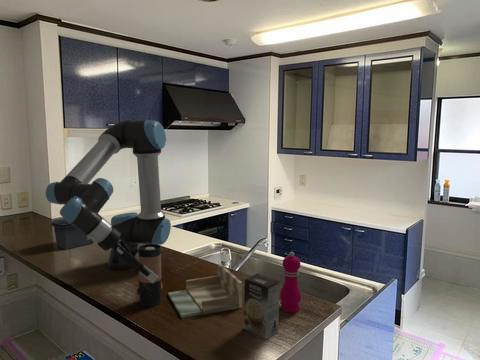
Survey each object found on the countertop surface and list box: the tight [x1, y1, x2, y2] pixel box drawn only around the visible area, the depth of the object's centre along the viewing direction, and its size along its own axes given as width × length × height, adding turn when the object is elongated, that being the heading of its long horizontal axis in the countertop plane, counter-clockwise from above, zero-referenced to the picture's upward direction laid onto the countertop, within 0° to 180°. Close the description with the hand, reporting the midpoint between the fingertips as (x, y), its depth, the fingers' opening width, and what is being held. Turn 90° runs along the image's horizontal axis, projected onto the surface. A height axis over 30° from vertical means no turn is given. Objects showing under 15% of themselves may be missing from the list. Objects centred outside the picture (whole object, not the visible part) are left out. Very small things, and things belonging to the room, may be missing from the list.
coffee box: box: [243, 273, 281, 340], centre depth 111 cm, size 9×6×16 cm
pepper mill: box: [279, 251, 302, 314], centre depth 126 cm, size 7×7×20 cm
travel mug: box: [138, 244, 162, 308], centre depth 129 cm, size 8×8×20 cm
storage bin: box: [50, 217, 95, 250], centre depth 197 cm, size 21×16×14 cm
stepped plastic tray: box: [167, 263, 243, 319], centre depth 131 cm, size 20×21×9 cm
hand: (151, 273), depth 129 cm, fingers open, 13 cm apart
